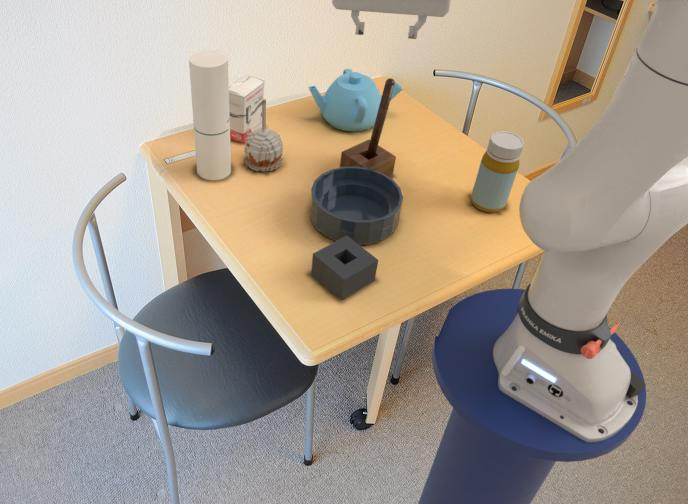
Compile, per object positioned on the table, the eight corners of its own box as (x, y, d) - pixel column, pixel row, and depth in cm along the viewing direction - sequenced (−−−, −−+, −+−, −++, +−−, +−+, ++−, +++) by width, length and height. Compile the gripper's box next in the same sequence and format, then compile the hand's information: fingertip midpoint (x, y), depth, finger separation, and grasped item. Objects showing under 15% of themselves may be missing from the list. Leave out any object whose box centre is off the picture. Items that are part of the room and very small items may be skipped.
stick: (371, 175, 139) (397, 80, 124) (365, 177, 138) (391, 81, 123) (365, 170, 140) (391, 75, 125) (359, 172, 139) (384, 77, 124)
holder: (392, 176, 138) (396, 156, 135) (365, 190, 135) (368, 170, 131) (366, 158, 143) (369, 139, 139) (339, 171, 139) (341, 151, 136)
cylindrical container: (235, 163, 140) (232, 52, 123) (225, 182, 135) (221, 69, 117) (203, 158, 141) (196, 47, 124) (192, 177, 136) (183, 64, 118)
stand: (374, 280, 116) (378, 259, 112) (341, 300, 112) (344, 279, 108) (344, 255, 120) (346, 235, 117) (310, 274, 116) (312, 253, 113)
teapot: (371, 145, 147) (377, 100, 139) (304, 121, 153) (307, 77, 145) (399, 115, 156) (407, 72, 149) (336, 94, 163) (340, 51, 155)
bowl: (416, 223, 127) (421, 198, 123) (351, 259, 119) (355, 234, 115) (355, 180, 137) (358, 156, 133) (291, 211, 129) (293, 187, 125)
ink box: (244, 144, 145) (243, 96, 137) (225, 137, 147) (223, 89, 139) (264, 126, 151) (265, 79, 142) (246, 120, 152) (245, 73, 144)
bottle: (474, 189, 136) (493, 126, 126) (508, 199, 134) (529, 136, 124) (466, 207, 132) (484, 143, 121) (500, 218, 130) (522, 154, 119)
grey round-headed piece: (258, 148, 144) (258, 86, 134) (288, 160, 141) (291, 97, 131) (238, 165, 139) (236, 102, 129) (269, 177, 136) (270, 114, 126)
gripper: (333, -44, 107) (326, 38, 116) (460, -35, 105) (443, 47, 115) (335, -56, 111) (328, 24, 121) (456, -48, 110) (440, 32, 120)
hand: (385, 35), depth 118 cm, fingers open, 8 cm apart
